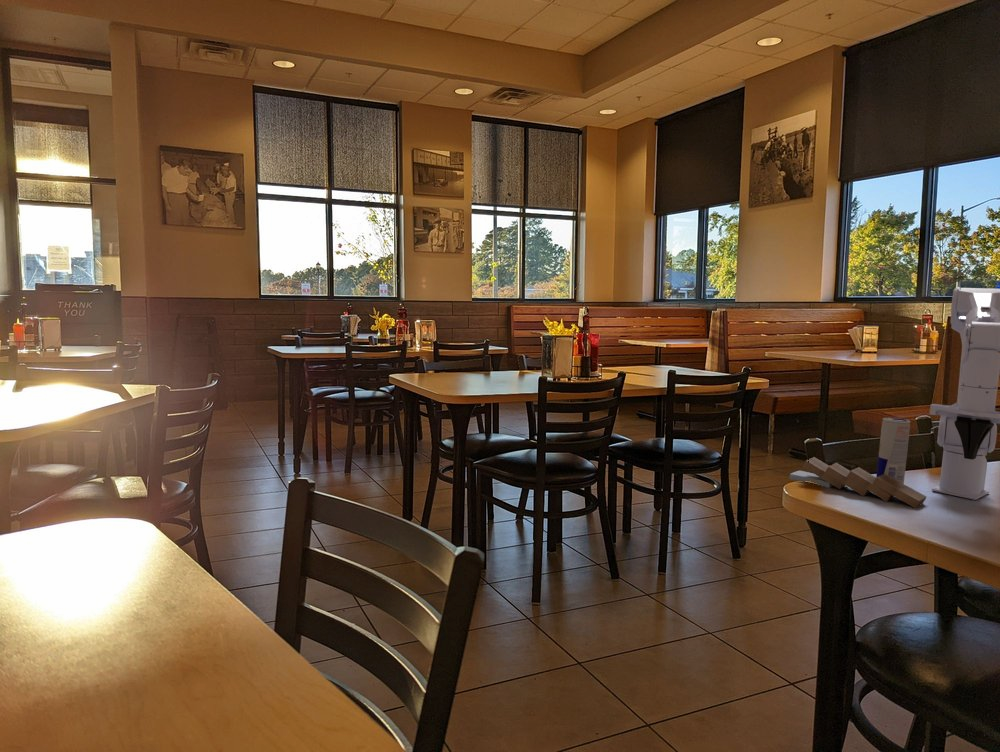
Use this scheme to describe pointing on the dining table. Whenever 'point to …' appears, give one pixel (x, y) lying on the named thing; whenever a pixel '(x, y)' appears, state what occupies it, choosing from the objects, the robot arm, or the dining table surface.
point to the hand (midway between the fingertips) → (969, 458)
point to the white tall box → (893, 448)
